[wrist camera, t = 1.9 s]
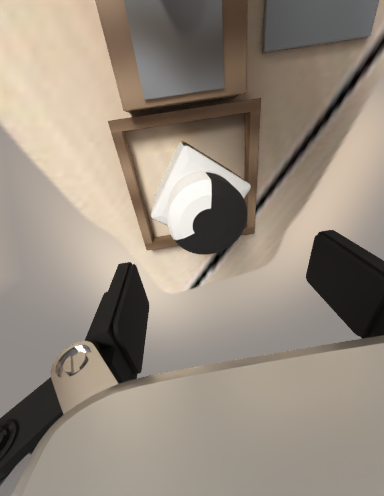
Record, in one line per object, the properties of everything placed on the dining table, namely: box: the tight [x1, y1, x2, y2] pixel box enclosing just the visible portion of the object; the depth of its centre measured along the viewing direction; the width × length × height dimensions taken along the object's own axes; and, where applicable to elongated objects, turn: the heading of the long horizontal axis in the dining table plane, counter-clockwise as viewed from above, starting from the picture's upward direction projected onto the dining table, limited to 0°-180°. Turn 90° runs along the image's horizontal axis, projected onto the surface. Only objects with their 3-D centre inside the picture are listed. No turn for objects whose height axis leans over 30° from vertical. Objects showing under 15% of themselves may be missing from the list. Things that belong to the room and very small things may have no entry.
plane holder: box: [95, 0, 261, 250], centre depth 19 cm, size 26×15×6 cm, turn 7°
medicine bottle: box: [151, 141, 251, 254], centre depth 19 cm, size 7×7×12 cm
